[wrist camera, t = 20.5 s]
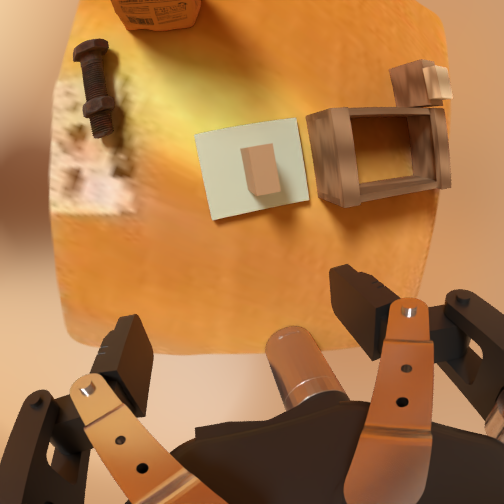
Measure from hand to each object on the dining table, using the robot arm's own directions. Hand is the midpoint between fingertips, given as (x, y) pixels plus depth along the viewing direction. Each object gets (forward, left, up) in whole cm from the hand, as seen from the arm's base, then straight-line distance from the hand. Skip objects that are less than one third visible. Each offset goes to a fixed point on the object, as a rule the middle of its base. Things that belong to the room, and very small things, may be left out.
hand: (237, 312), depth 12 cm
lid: (+3, -7, -34) cm, 34 cm away
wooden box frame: (+7, -27, -33) cm, 43 cm away
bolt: (+20, +13, -34) cm, 41 cm away
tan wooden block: (+13, -35, -24) cm, 45 cm away
